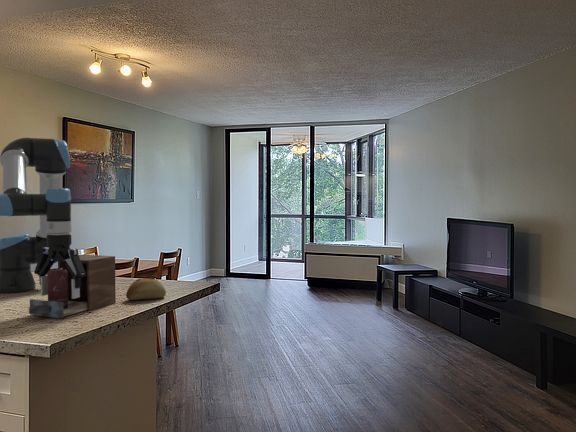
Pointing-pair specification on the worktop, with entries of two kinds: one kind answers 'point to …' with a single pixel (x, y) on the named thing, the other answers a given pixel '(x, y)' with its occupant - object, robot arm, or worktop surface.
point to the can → (58, 286)
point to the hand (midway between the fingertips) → (60, 296)
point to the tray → (55, 308)
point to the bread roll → (145, 289)
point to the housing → (95, 281)
